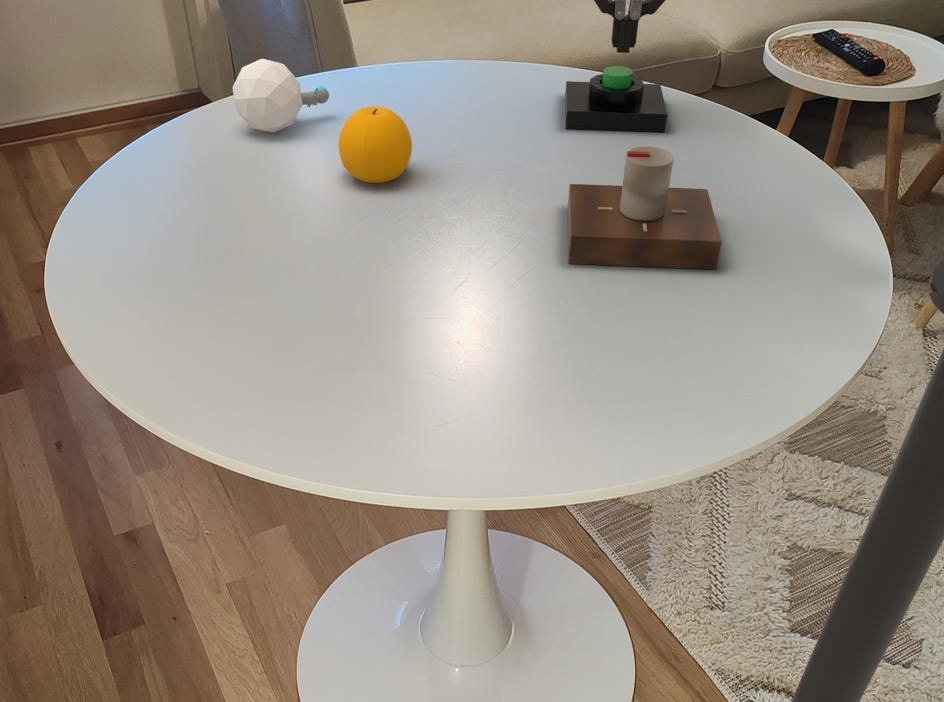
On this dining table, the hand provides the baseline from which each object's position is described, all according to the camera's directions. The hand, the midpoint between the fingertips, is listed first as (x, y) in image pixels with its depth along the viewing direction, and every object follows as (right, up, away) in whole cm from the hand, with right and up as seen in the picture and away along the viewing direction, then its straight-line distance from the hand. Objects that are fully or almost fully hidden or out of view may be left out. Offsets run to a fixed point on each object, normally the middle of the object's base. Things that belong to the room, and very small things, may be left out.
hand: (622, 50), depth 110 cm
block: (0, -6, +5) cm, 8 cm away
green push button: (0, -3, +3) cm, 4 cm away
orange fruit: (-29, -18, -8) cm, 35 cm away
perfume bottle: (-41, -8, +2) cm, 42 cm away
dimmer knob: (-2, -25, -20) cm, 32 cm away
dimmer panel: (-2, -27, -18) cm, 33 cm away
